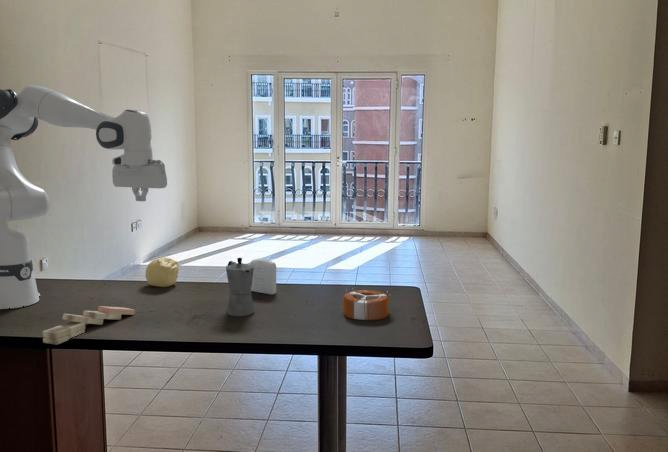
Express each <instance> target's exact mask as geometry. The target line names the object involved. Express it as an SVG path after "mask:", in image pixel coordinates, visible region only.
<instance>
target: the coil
mask: <svg viewBox="0 0 668 452" xmlns="http://www.w3.org/2000/svg"><path fill="white" fill-rule="evenodd" d="M351 290H352V291H350V292H348V289H347V288H346V289H345V293H344V294H343V296H342V297H343V298H342V301H343V302H342V308H343V309H342V310H343V311H342V313H343V315H344V316H345V317H346V318H349V319H351V320H360V321H365V322H366V321H369V322H370V321H379V320H382V319H385V318H387V317H388V316H389V311H390V309H389V305H390V299H389V297H390V296H389V295H391V292H390V293H389V292H388V291H389V290H387V291H386V294H385V292H383V291H382V292H381V291H379V290H373V289H371V290H369V289H368V290H367V289H359V290H357V289H356V290H355V289H354V287H352V288H351ZM388 294H389V295H388Z"/></svg>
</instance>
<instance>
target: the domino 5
mask: <svg viewBox="0 0 668 452" xmlns="http://www.w3.org/2000/svg"><path fill="white" fill-rule="evenodd" d="M97 311H99V312H103V313H108V314H122V315H125V316H126V315H129V316H130V315H131V316H133V315H135V312H136V309H132V308H128V307H121V306H103V305H98V307H97Z"/></svg>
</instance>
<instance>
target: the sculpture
mask: <svg viewBox="0 0 668 452" xmlns="http://www.w3.org/2000/svg"><path fill="white" fill-rule="evenodd" d="M179 269H180V268H179V262H178V261H177V260H175V259H172V258H170V257H164V256H162V257H160V258H156V259H154V260H153V259H152V261H150V262H149V263H148V265H147V266H146V269H145V279H146V282H147V284H149V285H150V286H152V287H160V288H167V287H171V286H173V285H174V284H176V282H177V280H178V277H179V275H178V274H179Z"/></svg>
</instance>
